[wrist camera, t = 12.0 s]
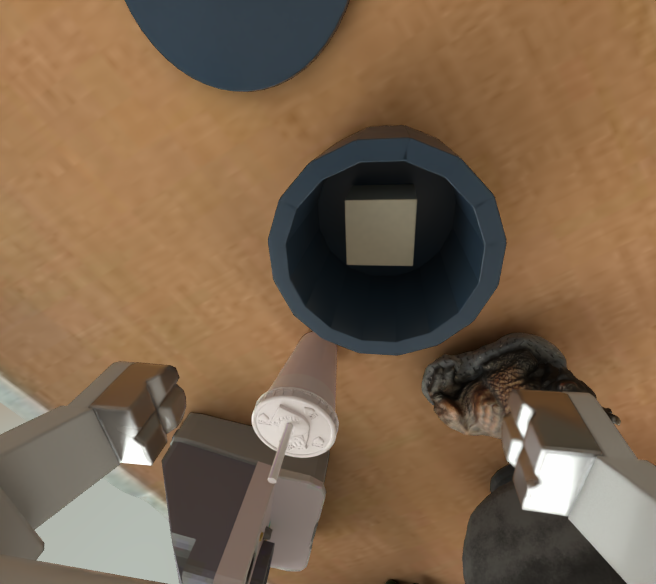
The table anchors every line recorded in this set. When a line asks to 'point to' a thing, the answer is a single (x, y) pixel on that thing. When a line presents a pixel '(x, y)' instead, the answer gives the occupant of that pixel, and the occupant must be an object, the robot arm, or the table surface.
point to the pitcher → (527, 544)
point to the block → (380, 225)
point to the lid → (239, 37)
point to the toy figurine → (392, 582)
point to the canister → (388, 281)
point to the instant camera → (238, 504)
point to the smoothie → (300, 404)
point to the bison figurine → (496, 381)
